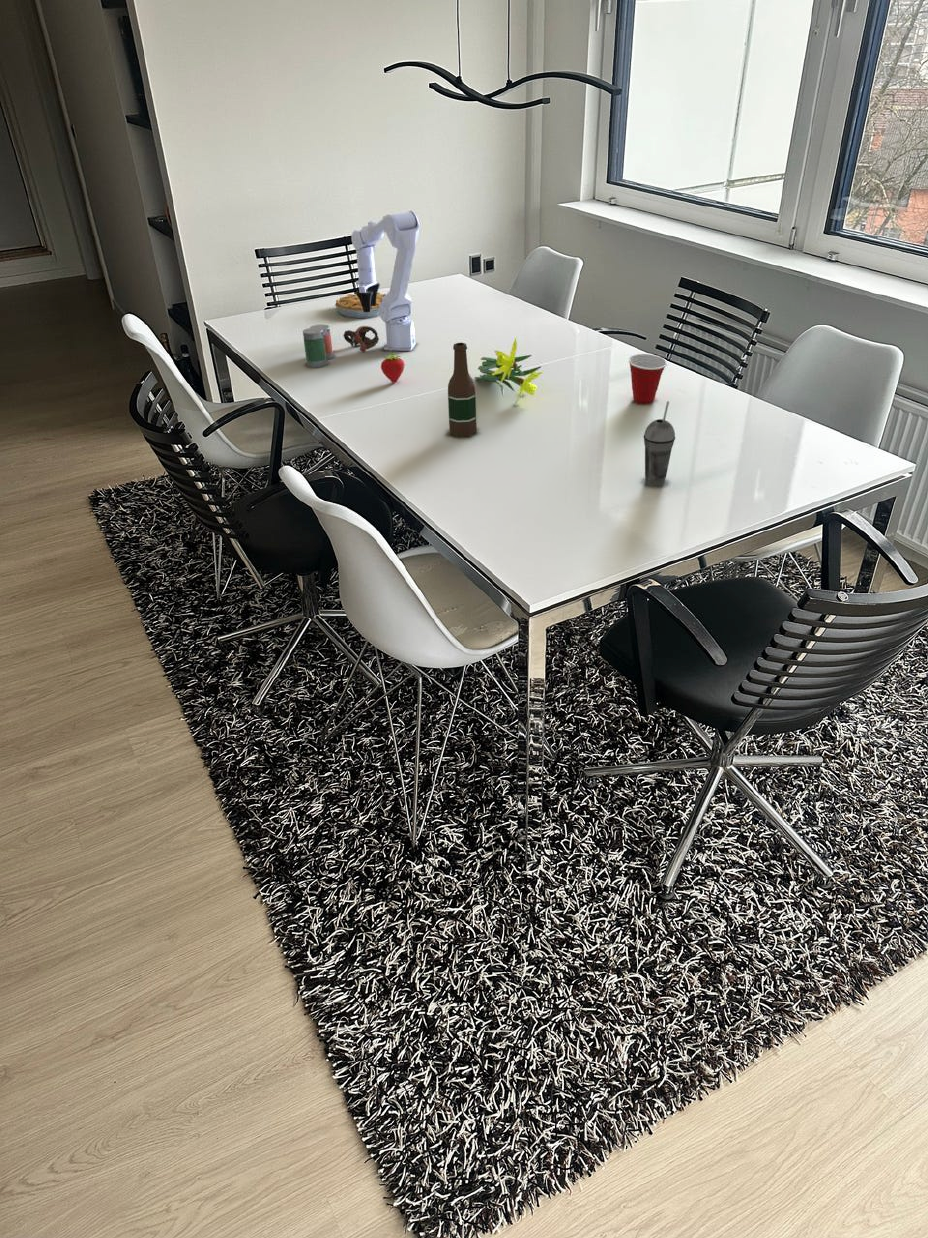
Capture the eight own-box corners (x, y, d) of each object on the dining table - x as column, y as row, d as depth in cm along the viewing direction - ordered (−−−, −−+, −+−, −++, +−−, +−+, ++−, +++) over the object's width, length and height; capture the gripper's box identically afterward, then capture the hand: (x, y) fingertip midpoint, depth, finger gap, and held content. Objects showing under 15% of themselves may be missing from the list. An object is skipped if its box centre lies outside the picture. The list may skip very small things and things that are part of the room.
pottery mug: (378, 343, 308) (381, 325, 301) (374, 363, 304) (378, 346, 296) (343, 335, 306) (346, 318, 299) (339, 356, 302) (342, 338, 295)
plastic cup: (650, 410, 249) (653, 368, 242) (617, 401, 255) (620, 360, 249) (670, 399, 256) (675, 358, 249) (638, 391, 262) (642, 350, 255)
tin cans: (335, 354, 298) (331, 321, 292) (323, 367, 288) (319, 333, 281) (316, 354, 299) (312, 320, 293) (304, 367, 289) (299, 333, 282)
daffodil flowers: (517, 374, 279) (565, 379, 248) (483, 406, 278) (527, 415, 247) (485, 331, 272) (530, 330, 240) (450, 363, 271) (491, 366, 240)
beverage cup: (636, 476, 215) (642, 396, 204) (665, 474, 216) (674, 395, 204) (643, 490, 209) (651, 408, 198) (674, 488, 210) (683, 406, 198)
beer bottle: (481, 428, 243) (479, 340, 229) (472, 439, 237) (469, 349, 223) (454, 425, 245) (450, 338, 231) (444, 436, 239) (440, 347, 225)
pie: (369, 322, 328) (368, 308, 325) (324, 314, 338) (323, 300, 335) (404, 307, 343) (404, 293, 340) (360, 300, 353) (359, 287, 350)
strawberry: (378, 382, 275) (376, 350, 269) (400, 377, 278) (398, 345, 272) (386, 387, 271) (384, 355, 265) (409, 383, 274) (407, 350, 268)
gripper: (360, 262, 307) (364, 302, 315) (348, 272, 296) (353, 314, 303) (380, 262, 306) (383, 303, 314) (369, 273, 295) (373, 314, 302)
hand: (369, 308), depth 309 cm, fingers open, 7 cm apart
